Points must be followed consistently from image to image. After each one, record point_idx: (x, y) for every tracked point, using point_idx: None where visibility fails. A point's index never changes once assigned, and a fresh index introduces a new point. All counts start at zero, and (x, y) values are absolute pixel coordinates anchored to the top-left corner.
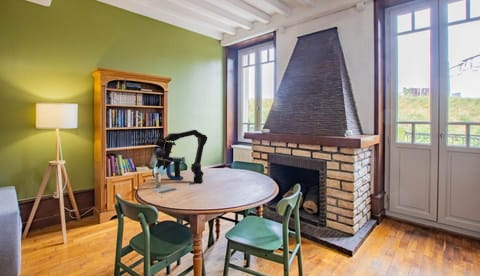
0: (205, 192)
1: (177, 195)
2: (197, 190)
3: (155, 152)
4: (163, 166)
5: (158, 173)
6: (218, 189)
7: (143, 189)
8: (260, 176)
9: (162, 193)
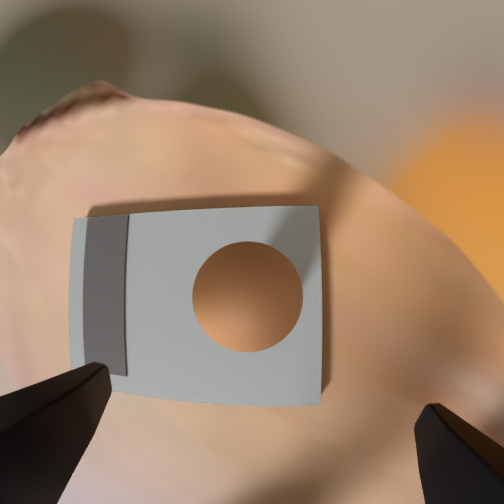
0: None
1: (36, 300)
2: None
3: None
4: (44, 394)
5: (196, 280)
6: None
7: (376, 203)
8: None
9: (85, 220)
